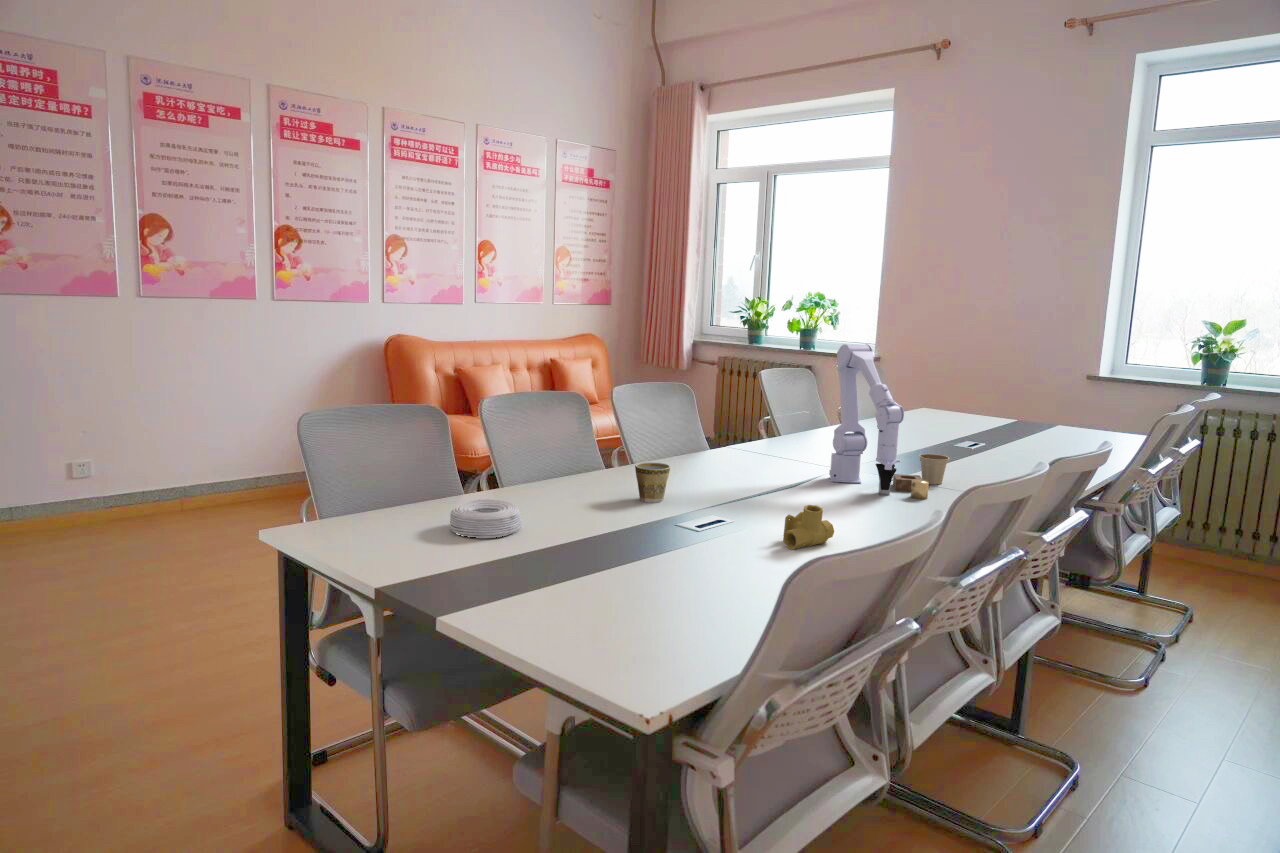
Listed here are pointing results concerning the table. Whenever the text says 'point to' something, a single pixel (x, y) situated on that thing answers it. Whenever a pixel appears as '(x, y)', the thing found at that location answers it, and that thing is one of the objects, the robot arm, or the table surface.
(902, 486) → the block
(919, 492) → the round bit
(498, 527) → the cable
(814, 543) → the tan pipe tee fitting
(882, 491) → the square bit
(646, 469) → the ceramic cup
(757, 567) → the table surface
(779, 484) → the table surface
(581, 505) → the table surface
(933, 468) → the flower pot
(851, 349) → the robot arm
